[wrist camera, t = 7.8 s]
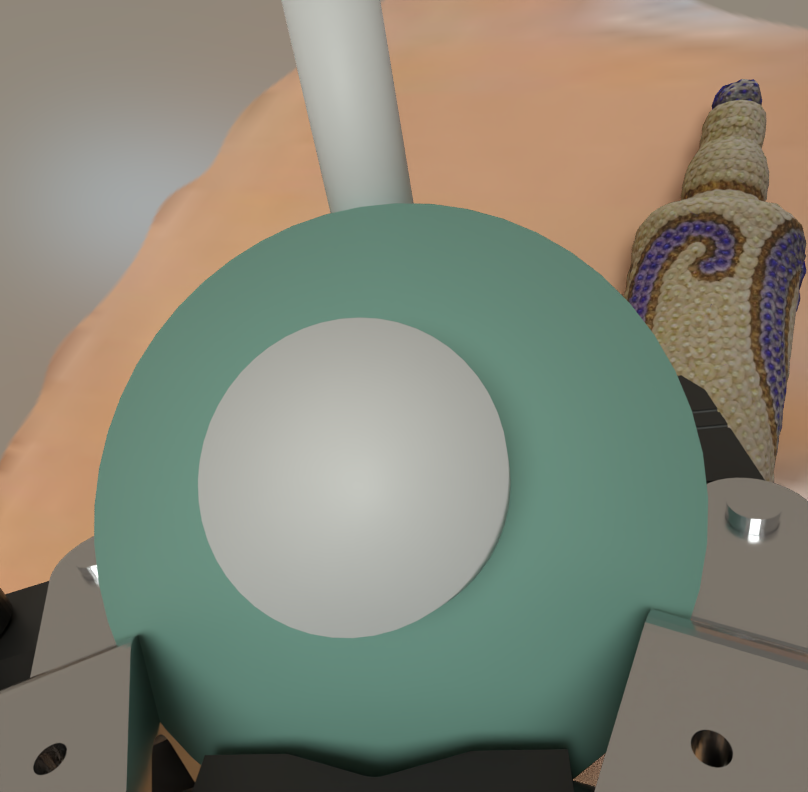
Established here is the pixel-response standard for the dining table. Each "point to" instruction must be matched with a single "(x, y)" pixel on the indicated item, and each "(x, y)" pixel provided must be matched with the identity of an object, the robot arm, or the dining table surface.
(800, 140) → the dining table surface
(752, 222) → the decorative bottle
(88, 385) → the dining table surface
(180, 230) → the dining table surface
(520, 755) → the robot arm
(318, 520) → the oil can
